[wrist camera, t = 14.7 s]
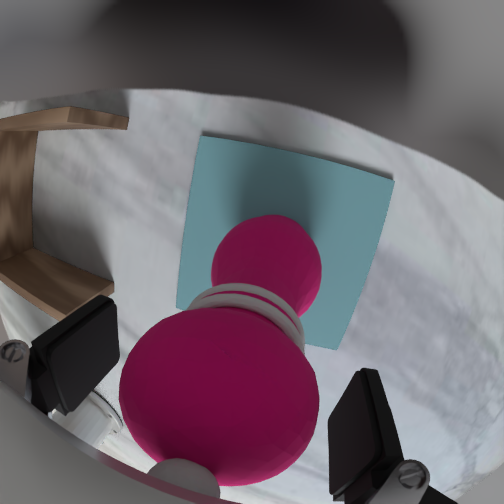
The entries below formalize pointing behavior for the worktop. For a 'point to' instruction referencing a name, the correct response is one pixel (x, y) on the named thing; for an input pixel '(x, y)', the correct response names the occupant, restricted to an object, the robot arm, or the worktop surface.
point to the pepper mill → (231, 366)
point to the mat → (294, 207)
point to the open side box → (20, 214)
